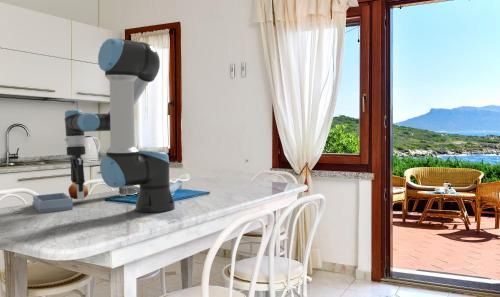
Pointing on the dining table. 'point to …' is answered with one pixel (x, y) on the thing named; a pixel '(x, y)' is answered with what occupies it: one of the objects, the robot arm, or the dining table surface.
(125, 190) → the decorative candle
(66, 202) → the blue-grey open box
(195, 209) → the dining table surface
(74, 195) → the fruit
